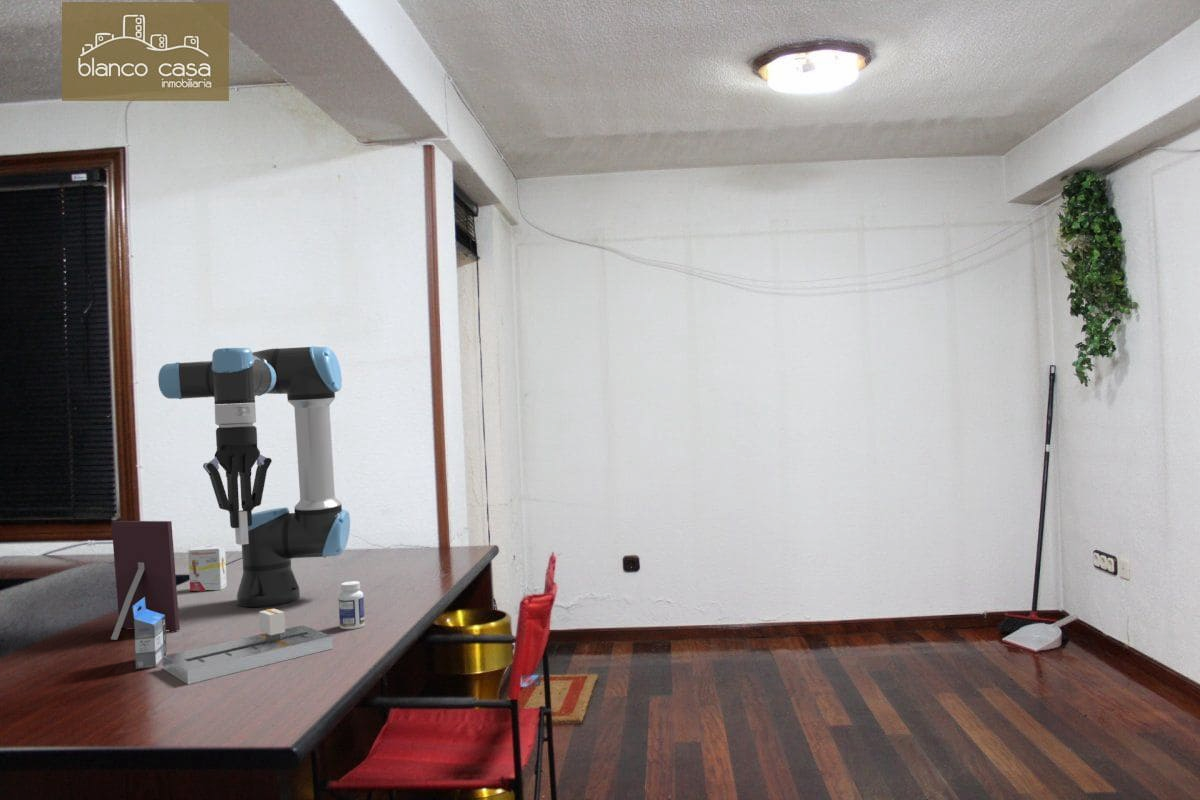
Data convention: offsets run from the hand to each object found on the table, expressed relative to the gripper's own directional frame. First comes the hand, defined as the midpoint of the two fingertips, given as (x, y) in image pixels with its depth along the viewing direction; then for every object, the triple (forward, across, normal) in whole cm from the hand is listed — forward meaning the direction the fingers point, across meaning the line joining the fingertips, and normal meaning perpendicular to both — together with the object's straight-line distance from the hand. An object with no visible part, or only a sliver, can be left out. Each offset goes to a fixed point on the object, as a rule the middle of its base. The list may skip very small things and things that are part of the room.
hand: (242, 543), depth 173 cm
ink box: (+24, +18, +76) cm, 81 cm away
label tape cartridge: (+23, -14, +12) cm, 29 cm away
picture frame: (+23, -10, +39) cm, 46 cm away
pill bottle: (+23, +24, +4) cm, 34 cm away
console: (+23, 0, -2) cm, 23 cm away
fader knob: (+23, +4, -2) cm, 23 cm away
